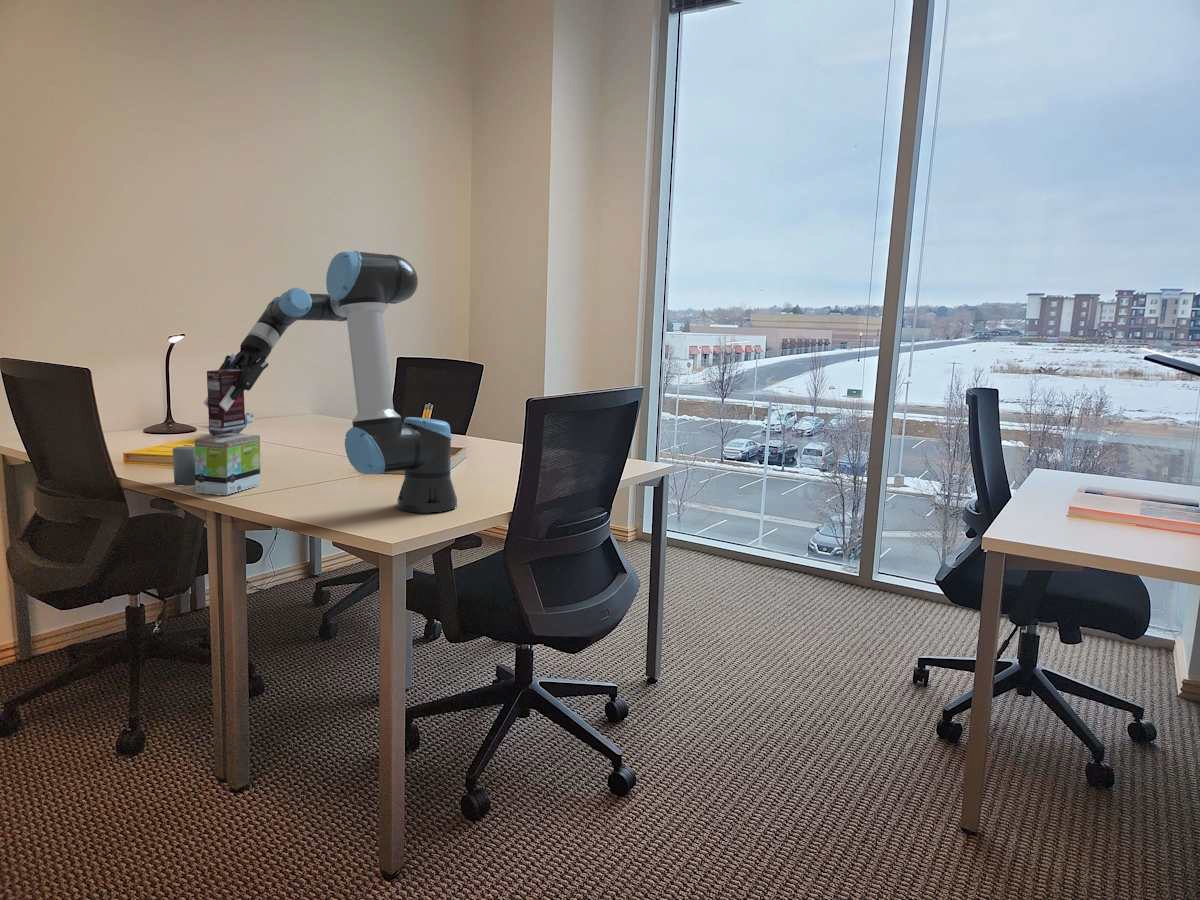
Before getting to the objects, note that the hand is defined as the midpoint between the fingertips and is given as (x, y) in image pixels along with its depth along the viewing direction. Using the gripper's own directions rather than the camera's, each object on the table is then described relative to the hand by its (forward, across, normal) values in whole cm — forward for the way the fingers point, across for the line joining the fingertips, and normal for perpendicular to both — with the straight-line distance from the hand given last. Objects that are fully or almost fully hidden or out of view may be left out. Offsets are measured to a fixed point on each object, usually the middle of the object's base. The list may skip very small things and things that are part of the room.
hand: (215, 406), depth 221 cm
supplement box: (+2, 0, -7) cm, 8 cm away
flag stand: (-47, +84, -81) cm, 126 cm away
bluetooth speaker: (-31, +65, -64) cm, 97 cm away
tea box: (+14, 0, -19) cm, 24 cm away
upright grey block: (+14, +15, -19) cm, 28 cm away
